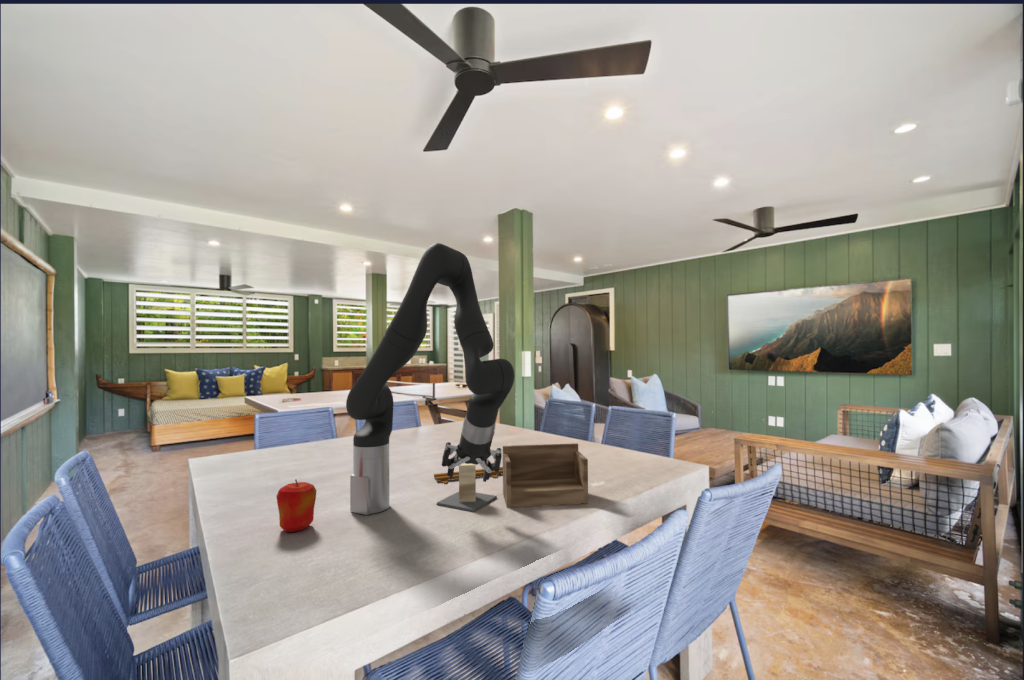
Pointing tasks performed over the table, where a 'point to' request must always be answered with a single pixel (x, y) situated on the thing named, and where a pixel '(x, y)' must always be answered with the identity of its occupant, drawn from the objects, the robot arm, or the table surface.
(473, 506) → the charcoal mat
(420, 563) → the table surface
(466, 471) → the maple block
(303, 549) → the table surface
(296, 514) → the apple
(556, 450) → the walnut cubby
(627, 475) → the table surface
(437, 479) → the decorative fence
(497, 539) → the table surface
